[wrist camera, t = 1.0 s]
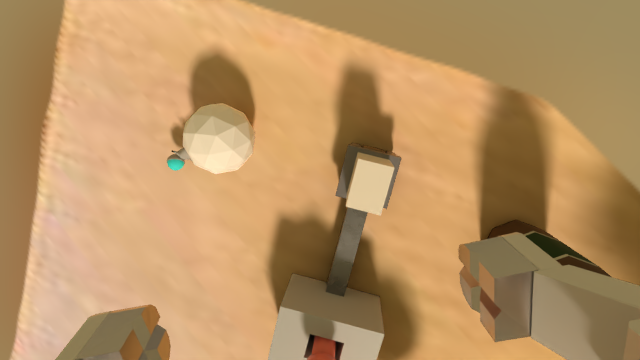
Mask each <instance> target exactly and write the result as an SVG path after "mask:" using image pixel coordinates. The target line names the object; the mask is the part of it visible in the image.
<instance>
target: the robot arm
mask: <svg viewBox="0 0 640 360" xmlns="http://www.w3.org/2000/svg"><path fill="white" fill-rule="evenodd" d="M459 259H460V261H461V262H462V263H463V265H464V267H463V268H462V270H461V271H460V284H461V287H462V291H463V294H464V296H465V298H466V301H467V302H468V304H469V305H470V307H471V308H472V309H473V310H475V311H477V312H479V313H480V321H481V323H482V324H483V326H484V327H485V329H486V330H487V332H488V333H489V334H490V336H491V337H492V339H493V340H494V342H498V341H505V340H511V339H517V338H523V337H529V336H531V338H532V339H534V340H535V341H537V342H539V343H540V344H542V345H544V346H545V347H547V348H549V349H550V350H552V351H554V352H555V353H557V354H559V355H560V356H562V357H564V358H565V359H567V360H640V286H639V285H636V284H633V283H629V282H626V281H622V280H619V279H616V278H612V277H609V276H605V275H602V274H599V273H595V272H592V271H589V270H585V269H582V268H578V267H575V266H572V265H565V266H562V265H561V264H560V263H558V262H557V261H556V260H555V259H553V258H552V257H551V256H549V255H548V254H547V253H546V252H544V251H543V250H542V249H541V248H539V247H538V246H537V245H536V244H534V243H533V242H532V241H530V240H529V239H528V238H527V237H525V236H524V235H523V234H522V233H518V232H515V233H510V234H506V235H501V236H498V237H494V238H490V239H485V240H480V241H475V242H470V243H466V244H461V245H460V246H459ZM159 318H160V315H159V313H158V311H157V309H156V307H155V306H153V305H144V306H138V307H132V308H127V309H121V310H115V311H109V312H104V313H99V314H95V315H93V316H90V317H89V318H88V319H87V320H86V322H85V323H84V324H83V325H82V327H81V328H80V329H79V330H78V332H77V333H76V334H75V336H74V337H73V338H72V339H71V341H70V342H69V343H68V344H67V346H66V347H65V348H64V349H63V351H62V352H61V353H60V354H59V356H58V357H57V358H56V359H55V360H169V357H170V347H171V346H170V340H169V336H168V334H167V331H166V330H165V329H164V328H162V327H161V326H159V325H158V321H159Z"/></svg>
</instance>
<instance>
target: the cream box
mask: <svg viewBox="0 0 640 360" xmlns="http://www.w3.org/2000/svg"><path fill="white" fill-rule="evenodd" d="M400 161H401V157H400V156H396V154H395V153H393V152H389V151H386V153H384V152H380V151H376V150H372V149H368V148H363V147H360V144H356V143H352V145H351V144H348V148H347V152H346V156H345V160H344V164H343V168H342V172H341V176H340V180H339V184H338V187H337V191H336V196H338V197H342V198H346V207H349V208H353V209H357V210H361V211H365V212H369V213H373V214H377V215H380V216H381V213H382V210H383V208H386V209H387V206H388V203H389V199H390V196H391V192H392V189H393V185H394V182H395V179H396V175H397V172H398V168H399V165H400Z"/></svg>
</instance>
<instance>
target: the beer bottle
mask: <svg viewBox="0 0 640 360" xmlns="http://www.w3.org/2000/svg"><path fill="white" fill-rule="evenodd" d="M515 232H518V233H522V234H523V235H524V236H525V237H527V238H528V239H529V240H530V241H532V242H533V243H534V244H536V245H537V246H538V247H539V248H541V249H542V250H543V251H544V252H546V253H547V254H548V255H549V256H551V257H552V258H553V259H555V260H556V261H557V262H558V263H560V264H561V265H562V266H565V265H572V266H575V267H578V268H582V269H585V270H589V271H592V272H595V273H599V274H602V275H605V276H609V277H611V276H610V275H609V274H607V273H606V272H605V271H604V270H602V269H601V268H600V267H599V266H597V265H595V264H594V263H592V262H591V261H589V260H588V259H586V258H585V257H583V256H582V255H580V254H579V253H577V252H576V251H574V250H573V249H571V248H570V247H568V246H567V245H565V244H564V243H562V242H561V241H559V240H558V239H556V238H555V237H553V236H552V235H550V234H549V233H547V232H545V231H543V230H541V229H539V228H537V227H534V226H532V225H529V224H526V223H524V222H521V221H518V220H514V221H512V222H509V223H507V224H504V225H501V226H499V227H496V228H493V229H492V231H491V233H490V235H489V237H488V239H490V238H494V237H498V236H501V235H506V234H510V233H515Z"/></svg>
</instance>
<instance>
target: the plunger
mask: <svg viewBox="0 0 640 360" xmlns="http://www.w3.org/2000/svg"><path fill="white" fill-rule="evenodd" d="M335 347H336V341H334V340H331V339H327V338H323V337H320V336H316V335H315V337H314V343H313V349H312V355H310V356H309V357H308V358H307V360H336V359H335Z"/></svg>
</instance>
